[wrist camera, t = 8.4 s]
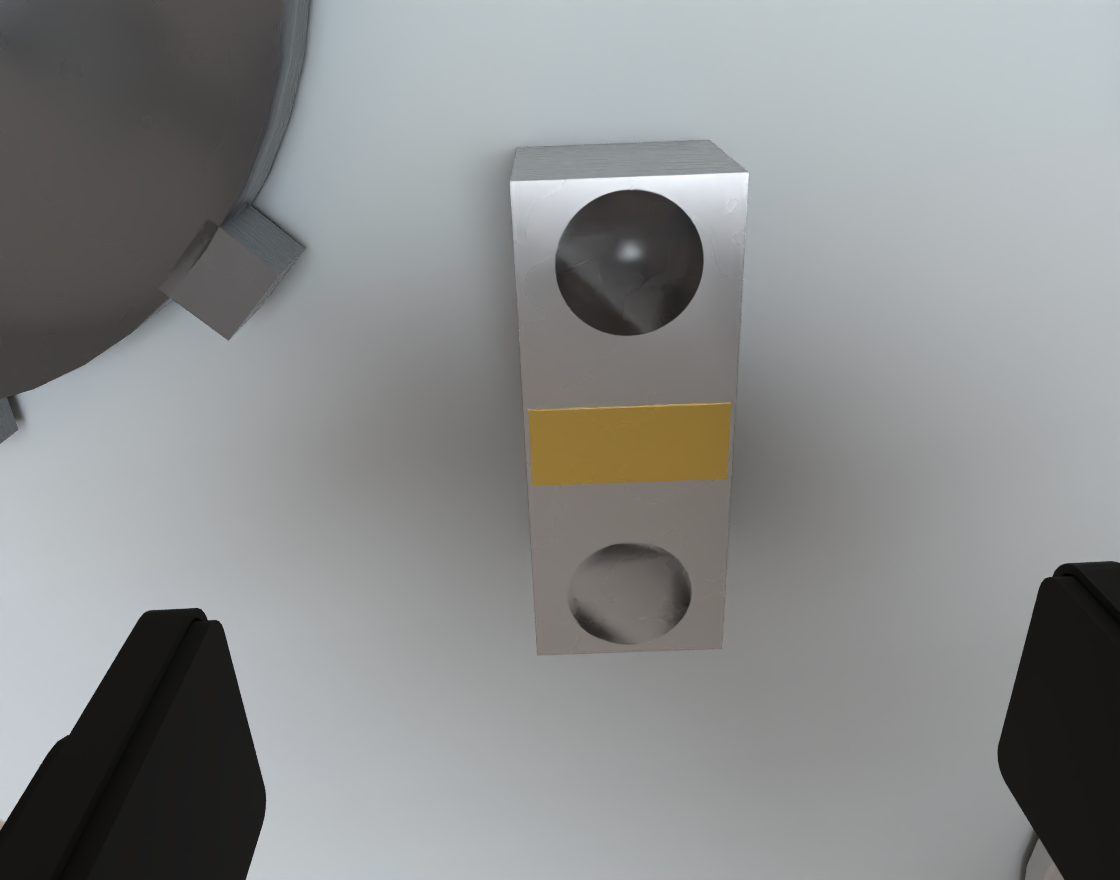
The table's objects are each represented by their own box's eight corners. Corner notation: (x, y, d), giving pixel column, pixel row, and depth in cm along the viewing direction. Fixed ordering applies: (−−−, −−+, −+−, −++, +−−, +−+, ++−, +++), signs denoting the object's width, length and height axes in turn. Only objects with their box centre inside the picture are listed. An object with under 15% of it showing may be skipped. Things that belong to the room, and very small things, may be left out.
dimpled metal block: (694, 547, 23) (722, 649, 19) (538, 553, 23) (537, 657, 19) (709, 140, 19) (749, 172, 15) (516, 147, 19) (510, 181, 15)
